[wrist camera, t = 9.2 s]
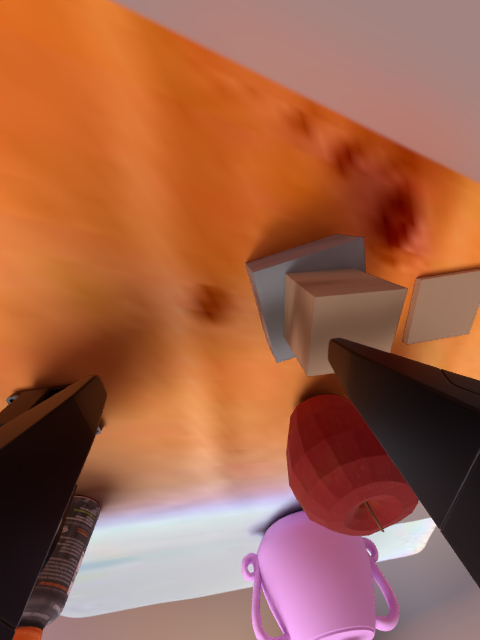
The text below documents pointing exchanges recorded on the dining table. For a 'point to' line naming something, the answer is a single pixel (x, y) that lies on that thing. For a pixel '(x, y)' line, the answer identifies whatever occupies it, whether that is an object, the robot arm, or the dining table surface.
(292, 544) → the pink pot
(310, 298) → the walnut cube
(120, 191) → the dining table surface
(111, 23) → the dining table surface
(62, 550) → the pill bottle
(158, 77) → the dining table surface
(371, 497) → the apple
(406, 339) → the tile
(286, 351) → the grey flat block
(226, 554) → the dining table surface
